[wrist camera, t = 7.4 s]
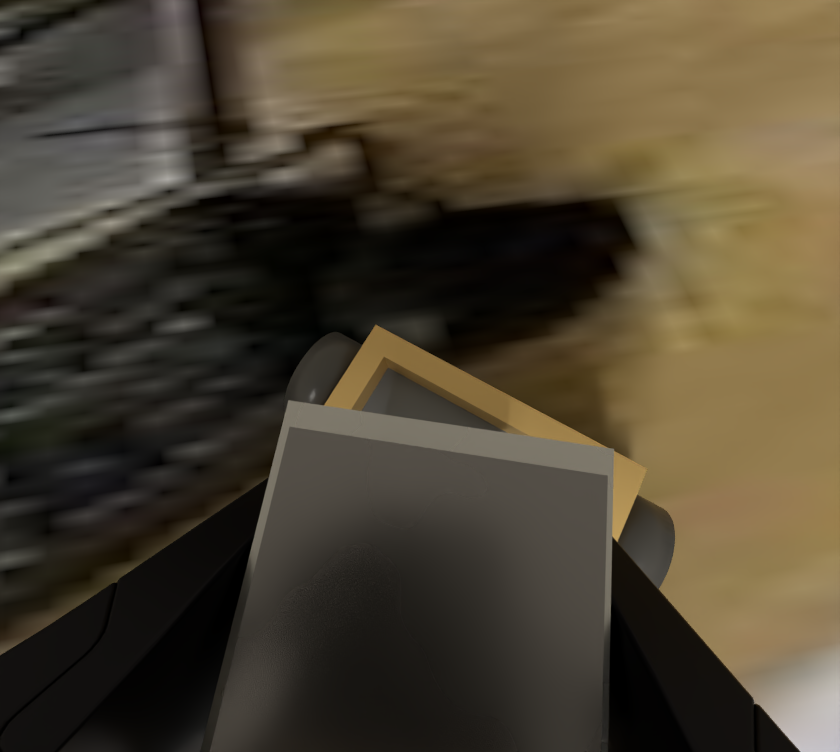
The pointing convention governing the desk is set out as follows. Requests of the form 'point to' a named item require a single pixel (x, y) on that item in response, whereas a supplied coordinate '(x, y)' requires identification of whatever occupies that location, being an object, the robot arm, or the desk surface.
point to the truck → (467, 420)
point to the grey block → (421, 593)
